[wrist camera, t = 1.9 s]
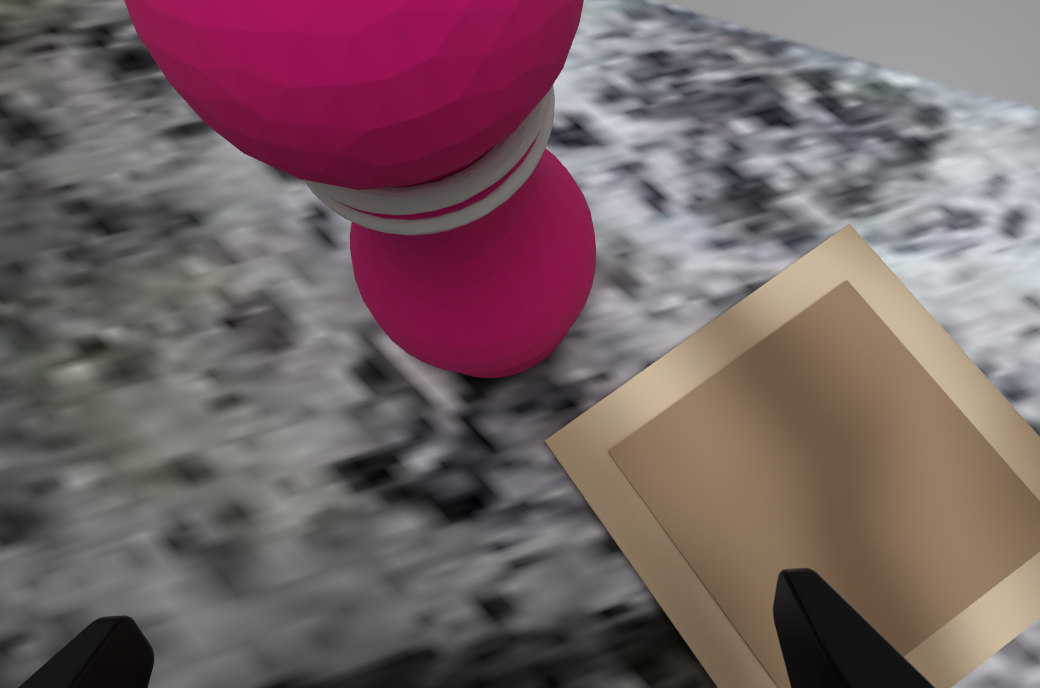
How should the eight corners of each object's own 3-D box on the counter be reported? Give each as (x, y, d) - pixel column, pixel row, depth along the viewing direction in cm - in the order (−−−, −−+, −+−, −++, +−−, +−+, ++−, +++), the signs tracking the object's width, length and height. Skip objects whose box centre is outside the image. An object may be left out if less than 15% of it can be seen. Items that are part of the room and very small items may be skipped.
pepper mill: (354, 314, 25) (-460, -350, 5) (475, 167, 25) (179, -876, 6) (509, 433, 23) (213, 159, 4) (630, 274, 24) (899, -615, 5)
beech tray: (791, 792, 20) (802, 808, 19) (545, 442, 23) (544, 440, 22) (1114, 541, 21) (1140, 544, 20) (840, 232, 24) (851, 221, 23)
